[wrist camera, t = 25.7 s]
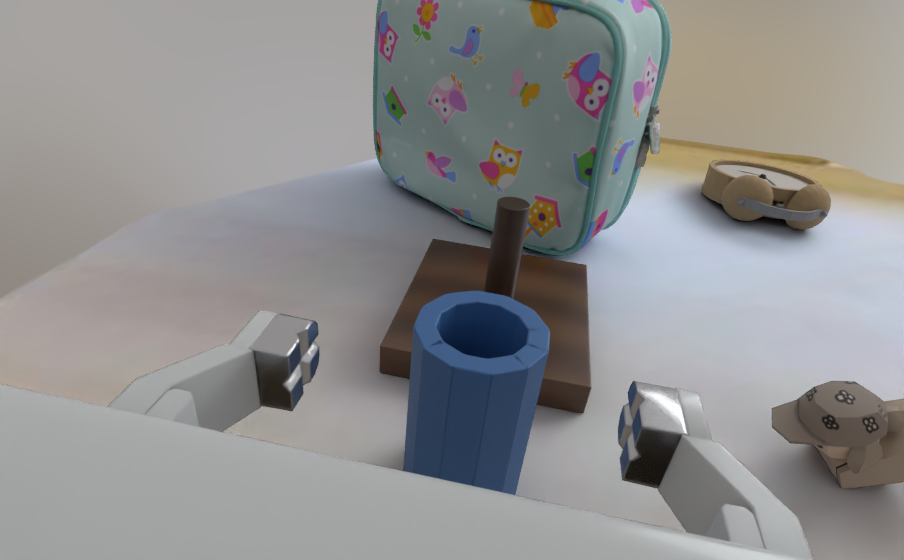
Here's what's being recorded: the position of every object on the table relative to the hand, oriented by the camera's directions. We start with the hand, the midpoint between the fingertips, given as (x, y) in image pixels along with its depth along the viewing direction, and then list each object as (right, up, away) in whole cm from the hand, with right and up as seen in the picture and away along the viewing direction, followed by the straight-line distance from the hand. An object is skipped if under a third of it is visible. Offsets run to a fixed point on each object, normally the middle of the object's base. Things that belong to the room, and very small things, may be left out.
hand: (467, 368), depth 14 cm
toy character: (+20, -8, +16) cm, 27 cm away
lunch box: (+3, +9, +40) cm, 41 cm away
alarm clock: (+33, +10, +46) cm, 58 cm away
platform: (+3, -1, +24) cm, 24 cm away
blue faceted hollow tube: (0, -7, +13) cm, 15 cm away
